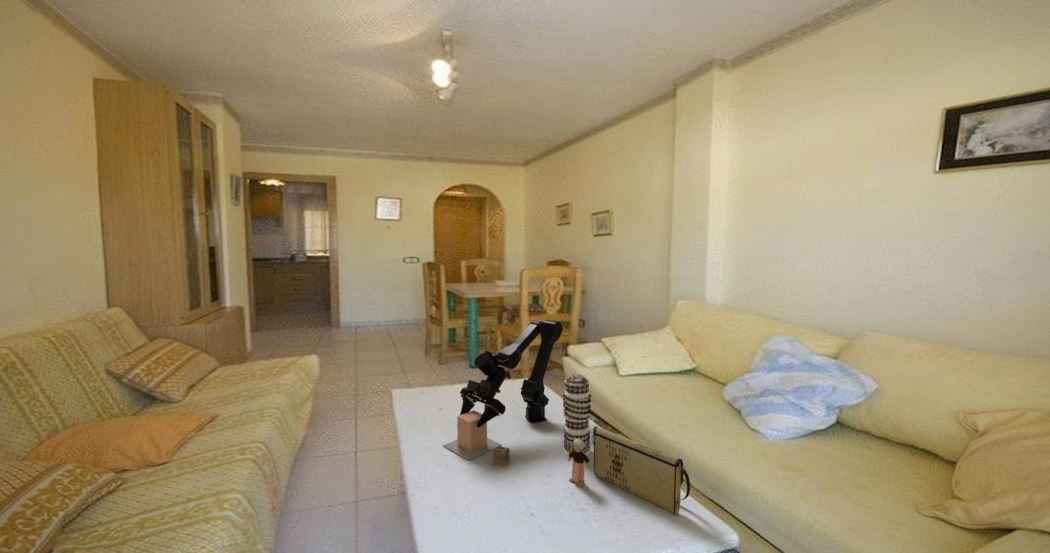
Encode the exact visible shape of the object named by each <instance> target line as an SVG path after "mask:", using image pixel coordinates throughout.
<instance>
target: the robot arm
mask: <svg viewBox="0 0 1050 553" xmlns="http://www.w3.org/2000/svg"><path fill="white" fill-rule="evenodd" d="M563 329H564V327H563V324H562V323H561V321H558V320H551V319H545V320H543V321H540V320H537V319H536V320H535V319H534V320H531V322H529V325H528V326H527V327H526V328H525V329H524V331H523V332H522V333H520V335H519V336H518V337H517V338H516V339H515V340H514V341H513V342H512V343H511V344H510V345H507V346H505V347H503V348H502V349H501V350H500V351H499V352H498V353H496V354H495V355H493V353H492V352H491V351H489V350H485V351H484V352H483V353H481V354H479V355H478V356H476V358H475V359H474V366H475V368H477V369H478V370H479V372H481V373H483V375H484V376H486V378H485V379H481V380H480V381H479V382H478V381H476V380H471V379H468V382H467V385H466V387H462V388H461V390H460V392H459V394H460V397H461V399H462V404H461V405H462V406H461V409H460V414H459V415H462V414H465V413H468V412H470V411H472V409H473V408H474V407H475V406H476V403H477V402H478V403H481V404H484V408H483V409H484V410H483V413H481V414H482V416H481V418H480V419H479V421H478V423H477V427H478V428H479V427H481V426H482V425H484V424H485V423H486V422H487V423H488V422H489V421H491V420H493V419H494V418H496V417H500V415H502V416H503V415H504V413H505V412H506V408H507V407H506V405H505V404H503V403H502V401H500V400H499V399H498V398H495V396H496V395H497V394H500V393H501V390H500V388H501V386H502V385H503V383H504V382H505V380H506V379H508V380H511V379H512V376H511V371H510V370H514V369H516V368H517V366H518V365H519V363H520V362H521V360H522V356H523V353H524V352H525V350H526V349H528V347H529V346H530V345H531V344H532V343H533V342H534V340H535V339H536V338H537V337H538V336H540V345H539V347H538V351H537V353H536V357H535V360H534V364H533V367H532V371H531V373H530V376H529V377H528V378H527V379H526V378H524V379H523V381H522V385H521V387H520V395H521V397H522V399H523V402H524V403H526V407H525V416H524V417H525V418H526V419H527V421H529V423H531V424H535V423H538V422H539V423H540V422H545V421H547V420H548V419H547V417H546V406H547V405H548V404H549V402H550V399H549V397H548V396H547V395H545V390H546V388H545V384H544V379H545V375H546V371H547V368H548V365H549V361H550V358H551V354H552V351H553V347H554V344H555V343H557V341H559V339H560V338H561V335H562V333H563ZM505 368H506V369H505ZM507 369H509V370H507Z"/></svg>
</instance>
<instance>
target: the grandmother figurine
mask: <svg viewBox="0 0 1050 553" xmlns="http://www.w3.org/2000/svg"><path fill="white" fill-rule="evenodd" d="M573 444H574V450H573V451H572V452H571V453H570V454H569V456H568V457H567V461H568V462H571V461H572V470H571V476H570V477H569V479H568V481H569V482H570V483H576V484H577V486H583V485H584V484H585V483H586V481H585V464H586V466H587V468H588V469H591V468H592V465H591V462H590V461H591V460H590V459H589V457H588V455H587V456H586V455H585V454H584V453H583V452H582V450H583V449H584V448H585V444H584V443H583V442H582V440H580V439H575V440H574V442H573ZM572 459H573V460H572ZM584 482H585V483H584Z"/></svg>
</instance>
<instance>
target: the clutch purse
mask: <svg viewBox="0 0 1050 553" xmlns="http://www.w3.org/2000/svg"><path fill="white" fill-rule="evenodd" d="M592 433H593V434H592V438H593V441H592V445H593V472H594V475H595V476H596V477H599V478H601V479H603V480H605V481H607V482H609V483H611V484H612V485H615V486H617V487H619V488H621V489H624V490H625V491H628V492H629V493H632V494H634V495H635V496H638V497H640V498H642V499H644V500H646V501H647V502H650V503H652V504H654V505H656V506H658V507H659V508H662V509H664V510H666V511H668V512H671V513H673V514H674V515H675V516H678V515H679V513H680V509H681V501H684V500H686V499H687V498H688V497H689V495H690V492H691V482H690V476H689V474H688V472H687V470H686V467H685V466H684V460H683V459H682V458H679V457H678V456H677V457H676V456H674V455H671V454H669V453H666V452H664V451H661V450H659V449H655V448H654V447H650V446H649V445H646V444H643V443H640V442H637V441H635V440H632V439H630V438H628V437H625V436H622V435H619V434H617V433H615V432H612V431H609V430H606V429H604V428H602V427H599V426H594V427H593V431H592ZM684 477H685V481H686V482H685V483H686V493H685V496H684V497H683V498H681V495H682V494H681V492H682V491H681V489H682V488H681V487H682V485H683V483H684Z"/></svg>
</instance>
